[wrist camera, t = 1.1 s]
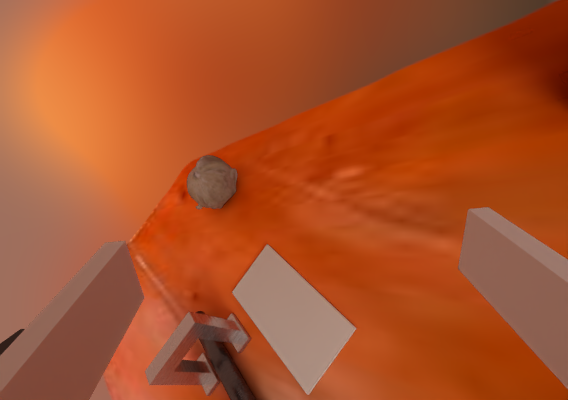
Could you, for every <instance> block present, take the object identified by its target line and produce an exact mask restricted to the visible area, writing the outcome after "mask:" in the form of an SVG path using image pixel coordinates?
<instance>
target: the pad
mask: <svg viewBox="0 0 568 400" xmlns="http://www.w3.org/2000/svg"><path fill="white" fill-rule="evenodd" d="M232 293H233V295H234V296H235V297H236V299H237V300H238V301H239V303H240V304H241V306H242V307H243V308H244V310H245V311H246V312H247V314H248V315H249V316H250V318H251V319H252V320H253V322H254V323H255V325H256V326H257V327H258V329H259V330H260V331H261V333H262V334H263V335H264V337H265V338H266V339H267V341H268V342H269V344H270V345H271V346H272V348H273V349H274V350H275V352H276V353H277V354H278V356H279V357H280V358H281V360H282V361H283V363H284V364H285V365H286V367H287V368H288V369H289V371H290V372H291V373H292V375H293V376H294V377H295V379H296V380H297V382H298V383H299V384H300V386H301V387H302V388H303V390H304V391H305V392H306V394H310V392H311V391H312V389H313V388H314V387H315V385H316V384H317V383H318V381H319V380H320V378H321V377H322V376H323V374H324V373H325V371H326V370H327V369H328V367H329V366H330V365H331V363H332V362H333V360H334V359H335V358H336V356H337V355H338V353H339V352H340V351H341V349H342V348H343V347H344V345H345V344H346V342H347V341H348V340H349V338H350V337H351V335H352V334H353V333H354V331H355V330H356V329H357V328H356V327H355V326H354V325H353V324H352V323H350V322H349V321H348V320H347V319H346V318H345V317H344V316H343V315H342V314H341V313H340V312H339V311H338V310H337V309H336V308H335V307H334V306H333V305H331V304H330V303H329V302H328V301H327V300H326V299H325V298H324V297H323V296H322V295H321V294H320V293H319V292H318V291H317V290H316V289H315V288H314V287H313V286H311V285H310V284H309V283H308V282H307V281H306V280H305V279H304V278H303V277H302V276H301V275H300V274H299V273H298V272H297V271H296V270H295V269H294V268H292V267H291V266H290V265H289V264H288V263H287V262H286V261H285V260H284V259H283V258H282V257H281V256H280V255H279V254H278V253H277V252H276V251H275V250H273V249H272V248H271V247H270V246H269V245H268V244H267V245H266V246H265V248H264V249H263V250H262V252H261V253H260V255H259V256H258V257H257V259H256V260H255V261H254V263H253V264H252V265H251V267H250V268H249V270H248V271H247V272H246V274H245V275H244V276H243V278H242V279H241V281H240V282H239V283H238V285H237V286H236V287H235V289H234V290H233V292H232Z"/></svg>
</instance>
